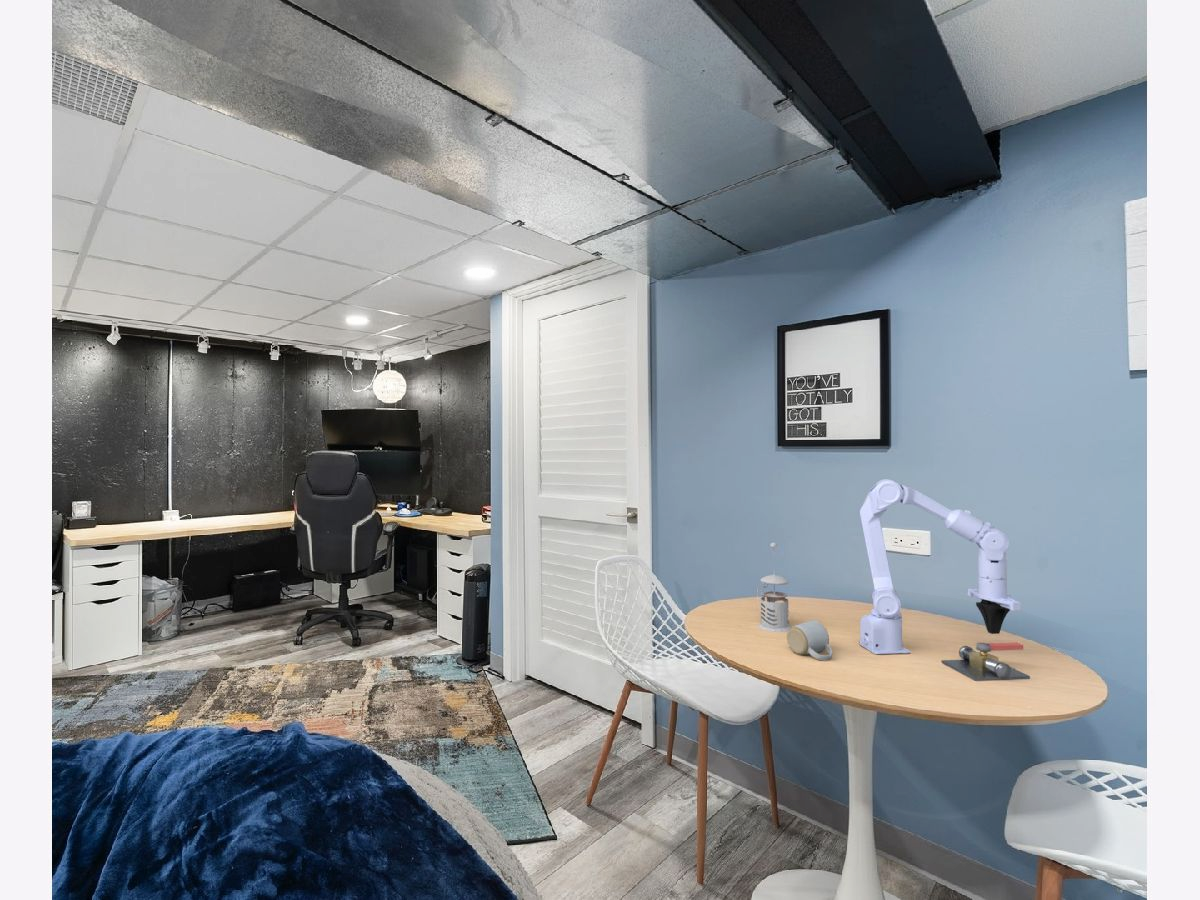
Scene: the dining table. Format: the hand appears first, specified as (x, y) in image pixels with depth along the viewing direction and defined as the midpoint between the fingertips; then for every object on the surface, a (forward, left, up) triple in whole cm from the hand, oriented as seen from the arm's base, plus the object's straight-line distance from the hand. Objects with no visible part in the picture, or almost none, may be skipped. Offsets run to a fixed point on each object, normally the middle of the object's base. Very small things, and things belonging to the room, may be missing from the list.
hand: (993, 632), depth 136 cm
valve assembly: (-7, -5, -7) cm, 11 cm away
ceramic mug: (-41, +10, -7) cm, 43 cm away
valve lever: (-3, -5, -2) cm, 6 cm away
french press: (-43, +33, -7) cm, 54 cm away
